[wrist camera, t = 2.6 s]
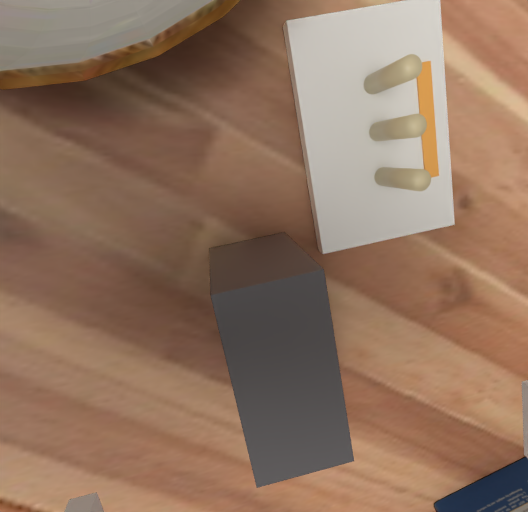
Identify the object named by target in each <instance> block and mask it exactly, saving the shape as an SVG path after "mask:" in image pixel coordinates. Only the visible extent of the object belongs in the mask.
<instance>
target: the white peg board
mask: <svg viewBox="0 0 528 512" xmlns="http://www.w3.org/2000/svg"><path fill="white" fill-rule="evenodd" d="M283 32H284V38H285V45H286V51H287V57H288V63H289V70H290V76H291V82H292V89H293V95H294V101H295V107H296V114H297V120H298V126H299V132H300V139H301V145H302V151H303V158H304V164H305V170H306V176H307V183H308V189H309V195H310V202H311V208H312V214H313V220H314V227H315V233H316V239H317V245H318V250H319V251H320V252H321V253H322V254H326V253H331V252H335V251H339V250H344V249H348V248H353V247H357V246H362V245H366V244H371V243H375V242H379V241H384V240H388V239H393V238H397V237H402V236H406V235H411V234H415V233H420V232H424V231H428V230H433V229H437V228H442V227H446V226H451V225H455V222H454V207H453V191H452V176H451V161H450V145H449V130H448V114H447V99H446V83H445V68H444V52H443V37H442V21H441V6H440V0H404V1H399V2H393V3H387V4H381V5H375V6H369V7H363V8H357V9H351V10H345V11H339V12H333V13H328V14H322V15H316V16H310V17H304V18H298V19H292V20H286V22H285V24H284V26H283Z"/></svg>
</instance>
